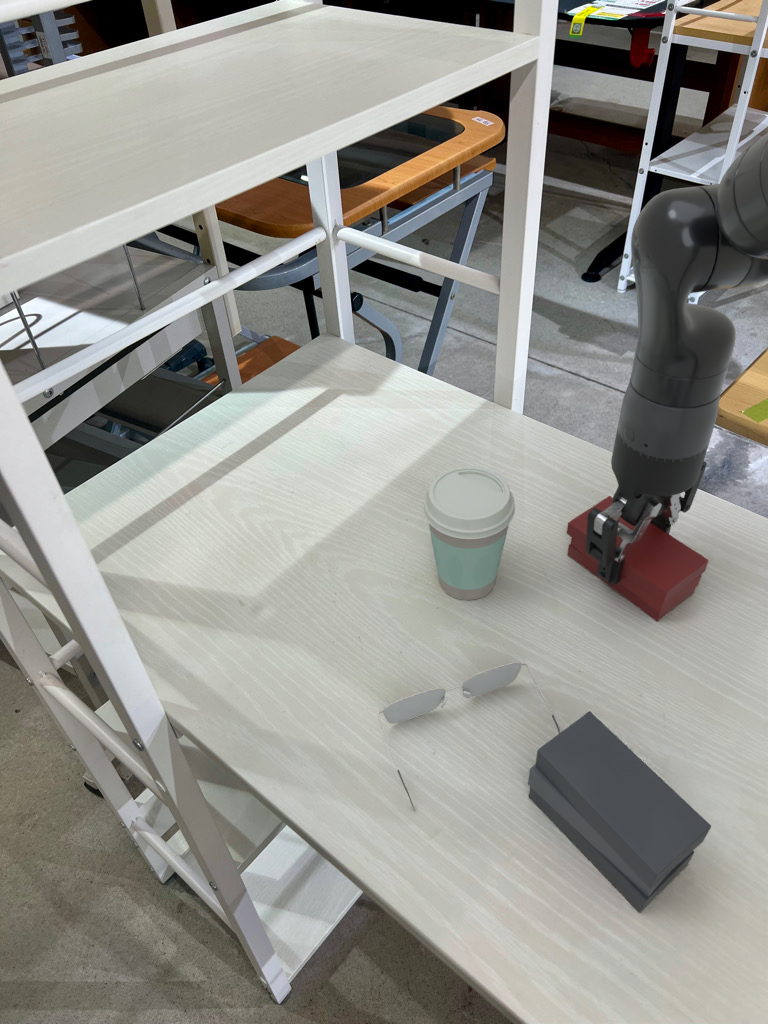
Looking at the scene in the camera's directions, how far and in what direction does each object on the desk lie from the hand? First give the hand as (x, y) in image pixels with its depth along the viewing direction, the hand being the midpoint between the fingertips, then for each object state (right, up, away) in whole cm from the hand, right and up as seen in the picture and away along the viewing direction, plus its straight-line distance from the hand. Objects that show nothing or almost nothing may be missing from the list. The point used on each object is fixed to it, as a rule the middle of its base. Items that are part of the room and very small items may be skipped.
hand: (631, 562), depth 75 cm
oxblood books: (0, -1, +1) cm, 2 cm away
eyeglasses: (-17, -15, -11) cm, 25 cm away
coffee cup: (-16, -2, +2) cm, 17 cm away
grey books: (-8, -19, -18) cm, 27 cm away
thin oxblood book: (0, +1, -1) cm, 1 cm away
